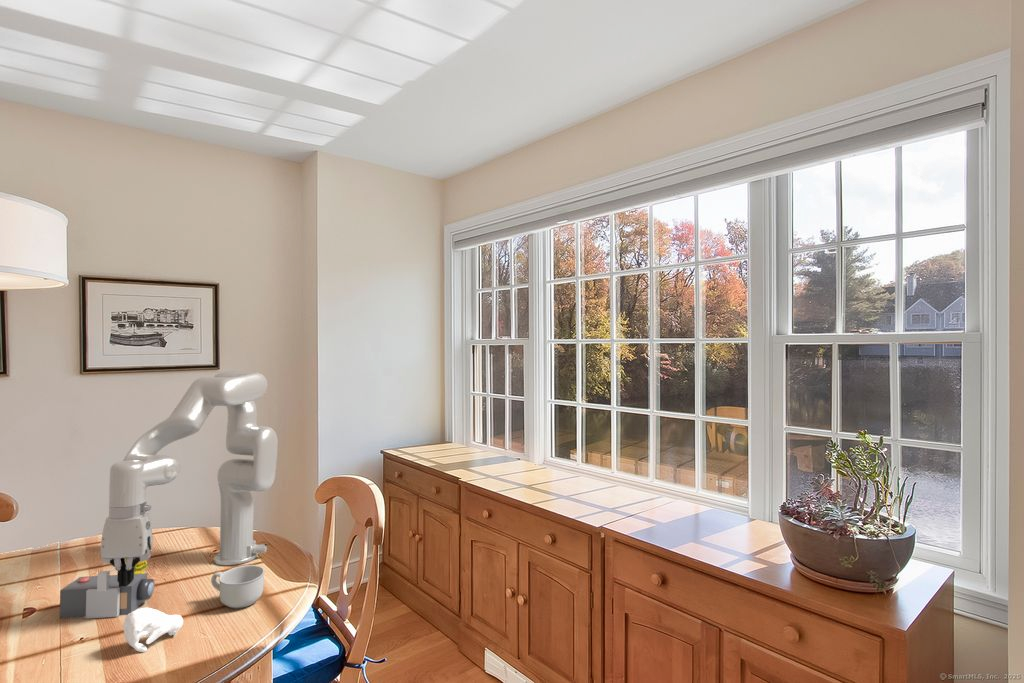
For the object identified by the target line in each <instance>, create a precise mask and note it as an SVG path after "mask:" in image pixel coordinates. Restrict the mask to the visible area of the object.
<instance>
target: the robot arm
mask: <svg viewBox="0 0 1024 683" xmlns="http://www.w3.org/2000/svg"><path fill="white" fill-rule="evenodd" d="M267 389H268V380H267V378H266V377H265V375H264V374H262V373H260V372H257V371H256V372H254V371H231V370H230V371H222V372H218V373H217V374H215V375H214V376H204V377H199V378H197V379H195V380H194V381H193V382H192V383H191V385H190V386H189V387H188V388H187V390H186V392H185V393H184V395H183V396H182V398H181V400H180V401H179V402H178V404H177V405H176V407H175V408H174V409H173V411H172V412H171V413H170V415H169V416H168V417H167V418H166V419H164V420H162V421H161V422H159V423H158V424H155V426H153V427H151V428H150V429H149V430H147V431H146V432H145V433H143V434H142V435H141V436H140V437H139V438H137V440H136V441H135V442H134V444H132V446H131V448H130V449H129V451H128V452H127V453H126V454H125V456H124V459H123V460H121V461H118V462H114V463H113V464H112V465H111V466H110V469H109V485H108V486H109V490H108V492H109V493H108V494H109V495H108V497H109V498H108V499H109V500H108V517H106V519H105V521H104V525H103V529H102V534H101V541H100V555H101V556H100V557H101V558H100V559H101V560H100V562H102V563H103V564H104V563H105V564H110V565H112V566H113V567H114V570H115V571H117V575H118V578H117V581H118V582H119V587H122V586H124V587H125V586H128V585H129V584H130V583H131V582H132V581H133V579H134V566H135V565H136V564H137V563H139V562H141V561H145V560H147V561H148V560H149V559H150V558H151V552H150V551H152V550H153V546H154V543H153V539H154V538H153V528H152V522H151V521H152V519H151V517H150V513H148V512H151V510H152V505H151V504H149V505H148V504H147V501H146V500H147V499H146V496H147V495H146V494H147V493H146V492H147V491H146V490H147V489H146V488H148V487H153V486H161V485H166V484H169V483H171V482H173V481H174V480H175V479H176V478H178V476H179V475H180V471H181V464H180V462H179V461H178V459H176V458H175V457H173V456H171V455H170V456H169V455H164V454H163V455H160V454H157V453H158V452H159V451H161V450H162V449H163V448H164V447H166V446H168V445H169V444H171V443H174V442H177V441H179V440H182V439H185V438H187V437H190V436H193V435H195V434H196V433H198V432H199V431H200V430H201V428H202V427H203V425H204V423H205V422H206V421H207V419H208V417H209V415H210V413H211V412H212V411H213V409H214V408H215V407H226V409H227V422H226V437H225V448H226V451H228V452H229V454H232V455H239V456H250V457H251V456H253V459H247V458H246V459H245V458H231V459H229V460H225V461H224V462H223V463H222V464H221V465H220V466H219V468H218V470H217V483H218V487H219V494H220V513H219V514H220V517H219V518H220V521H219V553H217V554H216V555H214V557H213V563H215V564H217V565H219V566H236V565H241V564H245V563H248V562H251V561H253V560H255V559H256V558H257V557H258V556H259V553H267V551H268V550H267V549H268V547H267V545H265V544H257V542H256V539H255V540H254V513H255V512H254V510H255V506H254V504H255V501H254V497H253V494H252V492H264V491H267V490H269V489H270V488H271V487H272V486H273V484H274V482H275V478H276V474H277V473H276V471H277V462H278V460H277V459H278V448H279V442H278V441H279V439H278V438H279V437H278V435H277V432H276V431H275V430H274V429H273V428H272V427H270V426H266V425H258V423H257V422H258V419H257V418H258V409H257V405H256V403H255V401H256V400H259V399H260V398H262V397H263V396H264V395H265V394H266V392H267ZM126 558H128V559H127V564H126Z"/></svg>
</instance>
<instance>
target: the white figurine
mask: <svg viewBox="0 0 1024 683" xmlns="http://www.w3.org/2000/svg"><path fill="white" fill-rule="evenodd" d="M183 625H184V619H183V617H182V615H180V614H166V613H165V612H163V611H160V610H158V609H155V608H151V607H142V608H141V607H139V608H137V609H136V610H135V611H133V612H131V613H129V614H126V616H125V618H124V622H123V624H122V628H123V632H124V633H123V634H124V638H125V641H126V643H127V644H129V645H128V646H130V647H132V648H134V650H135V651H137V652H140V653H146V652H147V651H148V648H147V646H146V645H150V644H152V643H153V642H155V641H156V640H157V639H158V638H159V637H161V636H163V635H165V634H166V633H168V636H170V637H171V636H173V637H175V636H176V635H177V633H178V632H179V630H180V629H181V628H182V627H183ZM143 637H147V639H146V641H145V644H146V645H145V644H143V643H140V642H139V641H140V639H142V638H143Z"/></svg>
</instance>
